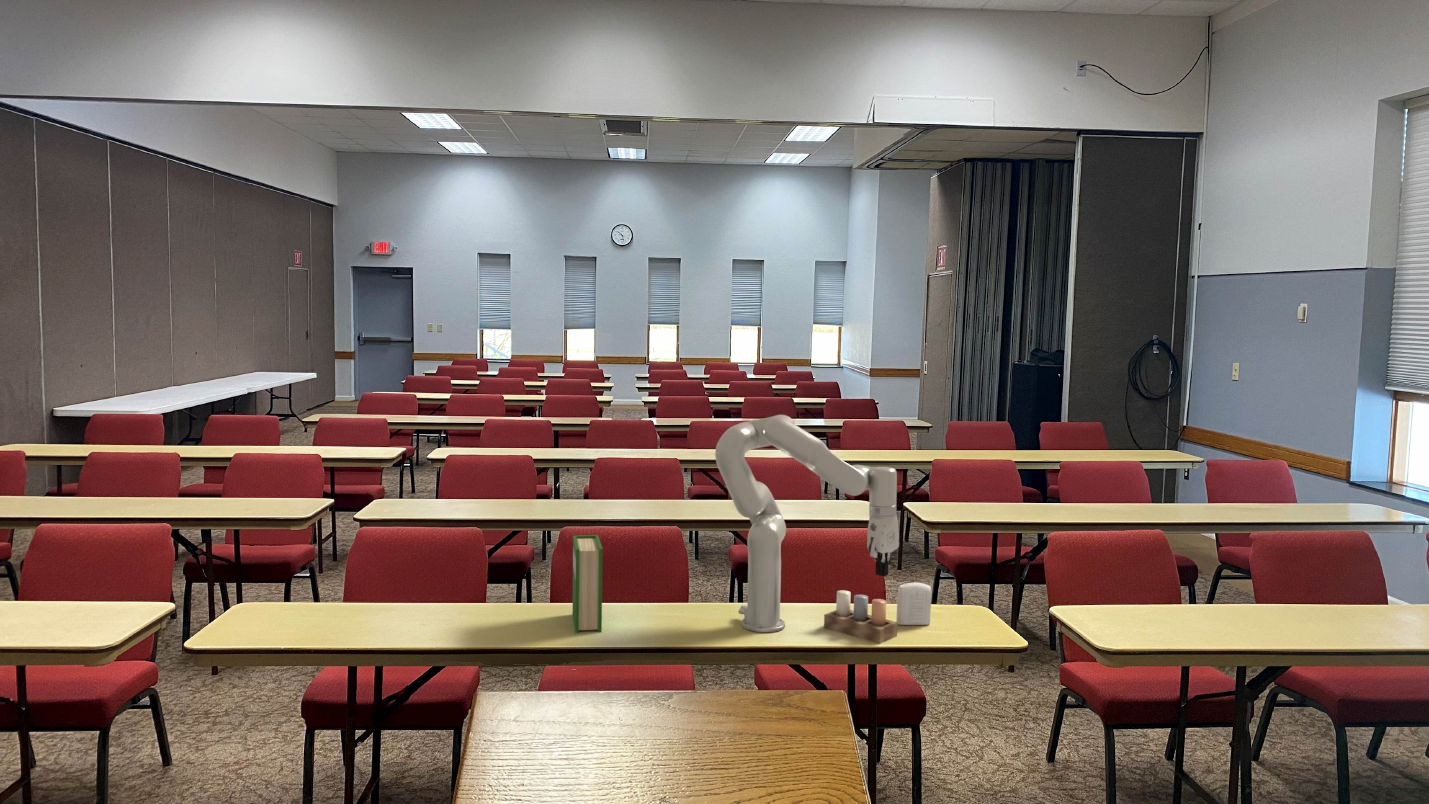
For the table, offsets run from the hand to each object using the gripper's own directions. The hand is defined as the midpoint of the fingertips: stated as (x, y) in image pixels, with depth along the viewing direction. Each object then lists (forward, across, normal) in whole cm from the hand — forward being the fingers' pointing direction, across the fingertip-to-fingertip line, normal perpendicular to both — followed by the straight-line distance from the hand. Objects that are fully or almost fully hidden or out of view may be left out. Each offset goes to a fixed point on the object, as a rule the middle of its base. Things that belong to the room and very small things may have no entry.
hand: (881, 575), depth 257 cm
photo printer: (+18, +18, 0) cm, 25 cm away
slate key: (+14, 0, +7) cm, 16 cm away
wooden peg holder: (+18, 0, +7) cm, 19 cm away
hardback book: (+16, -51, +68) cm, 87 cm away
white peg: (+14, 0, +13) cm, 19 cm away
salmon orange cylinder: (+15, 0, +1) cm, 15 cm away
